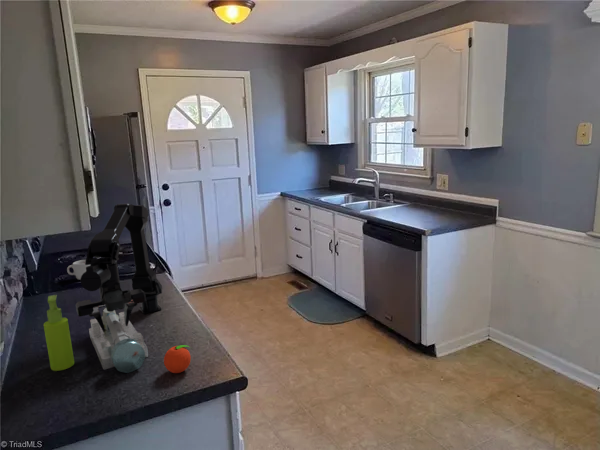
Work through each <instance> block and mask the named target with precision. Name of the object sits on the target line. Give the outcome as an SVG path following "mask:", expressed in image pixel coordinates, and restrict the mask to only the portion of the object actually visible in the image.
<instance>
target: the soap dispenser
mask: <svg viewBox="0 0 600 450" xmlns="http://www.w3.org/2000/svg"><path fill="white" fill-rule="evenodd" d="M57 296H58V295H57V294H53V295H48V297H47V304H48V305H49V309H47V310H46V317H47V321H45V322H44V323H43V331H44V337H45V342H46V348H47V352H48V353H47V354H48V360H49V366H50V369H51V371H53V372H57V371H64V370H66V369H69V368H71V367H73V366H74V365H75V357H74V351H73V346H72V344H73V343H72V337H71V332H70V326H69V319H68V318H67V317H63V314H62V308H61V307H58V306H57V298H58V297H57Z"/></svg>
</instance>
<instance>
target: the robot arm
mask: <svg viewBox="0 0 600 450" xmlns="http://www.w3.org/2000/svg"><path fill="white" fill-rule="evenodd" d="M148 217H149V209H148V208H147V207H145V206H144V205H143V204H136V205H135V204H130V203H118V204H115V205H114V208H113V212H112V213H111V215H110V217H109V220H108V221H107V223H106V225H105V226H104V228H103V230H102V231H101V232H98V233H96V234H95V235H94V236H93V237H92V239H91V240H90V241H89V243H88V247H87V252H86V256H85V257H86V258H85V260H86V262H85V265H90V266H87V267H86V272H85V273H83V275H82V276H81V279H80V285H81V287H82V288H83V289H84V290H86V291H88V292H96V291H97V290H99V295H100V296H99V298H100V300H99V301H91V298H90V299H84V300H80V301H77V302H76V303H75V310H76V314H77V315H78V317H85V316H89V317H91V318H92V317H93V318H94V319H96V320H97V321H98V323H99V325H100V327H101V328H102V330H103V332H105V328H104V324H103V321H102V318H101V317H102V315H101V311H100V308H104V307H105V308H107V311H108V312H112V311H114V310H115V311H117V310H118V311H119V310H123V312H124V318H125V325H126V326H128V322H129V321H130V317H131V314H132V312H133V311H132V310H133V309H134V308H135V307H137V306H138V304H141V306H140V307H139V310H140V311H141V312H142V314H143V315H145V314H149V313H153V312H158V311H161V310H162V307H161V306H160V304H159V301H158V300H159V299H158V296H159V295H161V294H162V293H163V286H162V284H161V282H160V280H159V279H158V278H157V273H156V272H155V271H154V270H153V269H152V268H151V266H150V260H149V253H148V246H147V239H146V233H145V228H146V225H147V223H148ZM125 228H126V230H127V231H128V232H129V235H130V241H131V243H130V244H131V249H132V254H133V260H134V261H133V262H134V266H135V272H134V274H133V276H132V277H131V287H132V289H131V290H130V289H125V290H122V288H121V282H120V275H119V266H118V261H119V260H120V258H119V253H120V250H121V242H120V240H119V239H120V237H121V235H122V233H123V231H124V229H125Z"/></svg>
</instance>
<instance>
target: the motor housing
mask: <svg viewBox="0 0 600 450" xmlns="http://www.w3.org/2000/svg"><path fill="white" fill-rule="evenodd" d="M118 316H119V322H120V324H121V326H122V327H123V329H124V331H125V332H126V334H127V335H128V336H129V337H130V338H128V339H123V340H121V341H119V342H118V343H117V344H116V345H115V346H114V343H113V338H112V335H111V332H110V330H106V329H105V332H103V330H102V328H101V327H100V325H99V323H98V321H97V320H96V319H95V318H91V319H90V320H89V321H90V328H88V331H89V338H90V340H91V343H92V346H93V347H94V350H95V352H96V354H97V357H98V360H99V362H100V365H101V367H102V369H103V370H104V371H105V370H107V369H112V368H115V369H116V370H117V371H118V372H120V373H125V374H126V373H127V374H128V373H132V372H135V371H137V370H138V369H139V368H141V367H142V365H143V364H144V362H145V358H148V357H149V351H148V346H147V344H146V343H145V340H144V336H143V335H142V333H141V332H138V330H136V328H135V327H134V325H133V324H132V322H131V321H130V320H129V322H128V326H126V325H125V318H124V311H121V312H118Z"/></svg>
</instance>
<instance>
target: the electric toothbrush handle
mask: <svg viewBox="0 0 600 450" xmlns="http://www.w3.org/2000/svg"><path fill="white" fill-rule="evenodd" d="M101 318H102V321H103V324H104V328H105V329H106V330H110V332H111V335H112V338H113V343H114V346H115V345H116V344H117V343H118V342H119V341H121V340H123V339H128V338H130V337H129V336H128V335H127V334H126V332H125V331H124V329H123V327H122V326H121V324H120V322H119V321H120V318H119V314H117V313H116V310H114V311H112V312H108V311H107V308H106V307H105V308H104V309H103V310H102V315H101Z"/></svg>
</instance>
